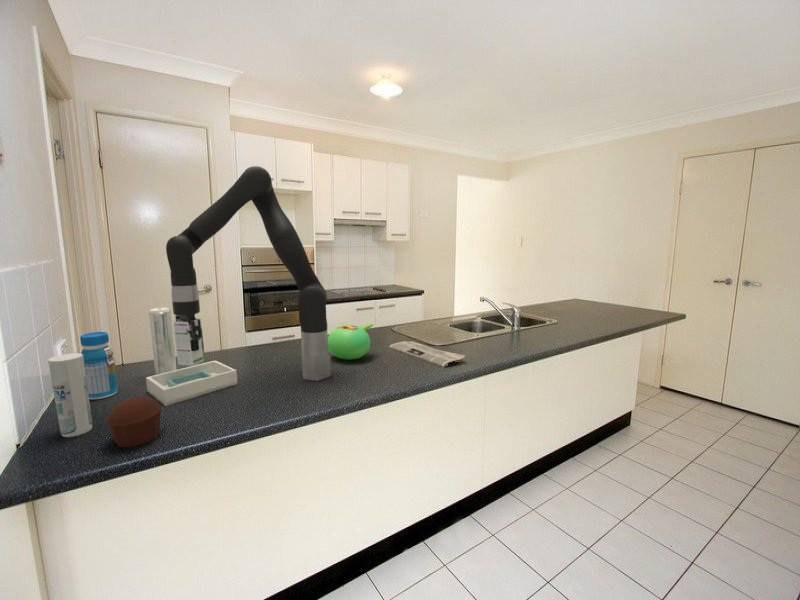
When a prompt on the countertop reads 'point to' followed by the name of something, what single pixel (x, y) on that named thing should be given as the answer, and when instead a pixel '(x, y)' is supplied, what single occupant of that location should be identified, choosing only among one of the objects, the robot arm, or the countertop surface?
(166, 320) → the silver metal cylinder
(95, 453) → the countertop surface
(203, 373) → the bin
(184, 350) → the syrup box
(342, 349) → the green rounded pot shape
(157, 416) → the muffin
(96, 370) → the blue supplement bottle
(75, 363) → the spray can
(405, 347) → the newspaper
